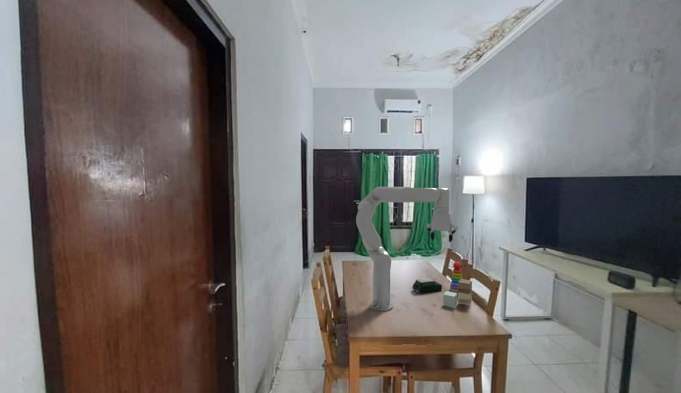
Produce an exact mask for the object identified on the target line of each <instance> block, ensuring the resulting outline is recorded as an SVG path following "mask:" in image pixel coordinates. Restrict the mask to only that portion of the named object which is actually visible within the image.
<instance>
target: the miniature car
mask: <svg viewBox="0 0 681 393" xmlns="http://www.w3.org/2000/svg"><path fill="white" fill-rule="evenodd" d="M411 289H412V290H414V291H415V292H417V293H419V294H425V293H430V292H442V290H443V284H442V283H440V282H437V281H436V280H433V279H432V278H428V277H422V278H418V279H416V280H415V282H414V283H413V284H412V286H411Z"/></svg>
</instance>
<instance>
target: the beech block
mask: <svg viewBox="0 0 681 393" xmlns="http://www.w3.org/2000/svg"><path fill="white" fill-rule="evenodd" d="M472 301H473V291H472V292H471V293H470V294H465V293H460V292H457V302H458V304H460V303H462V304H461V305H465V304H467V305H466V306H469V305H470V303H471V302H472ZM472 303H473V302H472ZM470 306H471V305H470Z"/></svg>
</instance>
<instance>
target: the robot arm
mask: <svg viewBox="0 0 681 393" xmlns="http://www.w3.org/2000/svg"><path fill="white" fill-rule="evenodd" d="M381 203H434V207H432V208H431V209H432V211H434V212H433V213H432V215H431V216H432V217H431V222H429V223H427V224H426V228H427V231H429V232H430V239H431V241H434V240H435V231H438V232H439V231H440V232H448V233H449V234H448V242H449V243H451V242H452V241H453V239H454V238H453V235H454V234H455V233H456V232H457V230H458V228H459V227H458V226H457V225H455V224H453V223H452V217H451V216H452V214H451V213H450V189H449V188H447V187H446V188H445V187H438V188H435V187H424V188H422V187H421V188H419V187H411V186H410V187H409V186H408V187H407V186H376V187H375V188H373V190H371V191H370V193H368V194H367V195H366V196H365V197H364V198H363V199H362V200H360V201H359V203H358V204H357V214H356V218H355V222H356V226H357V228H358V232H359V234H360V237H361V242H362V244H363V246H364V248H365V250H366V251H367V254H368V256H369V258H370V259H371V261H372V263H373V268H372V301H371V302H370V303H369V308H370V309H372V310H374V311H378V312H388V311H391V310H392V309H393V307H394V304H393V303H392V302H391V269H392V258H391V256H390V254H389V253H388V251H387V250H386V249H385V248H384V245H383V244H382V238H381V237H380V235H379V233H378V232H377V229H376V227H375V226H374V223H373V216H374V214H376V208H377V206H379V205H380V204H381ZM452 228H453V230H452Z"/></svg>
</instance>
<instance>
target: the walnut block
mask: <svg viewBox="0 0 681 393" xmlns="http://www.w3.org/2000/svg"><path fill="white" fill-rule="evenodd" d="M472 289H473V280H469V279H464V278H462V279H460V280H459V282H458V292H460V293H465V294H470V293H471V292H472V293H473V290H472ZM458 292H457V293H458Z"/></svg>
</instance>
